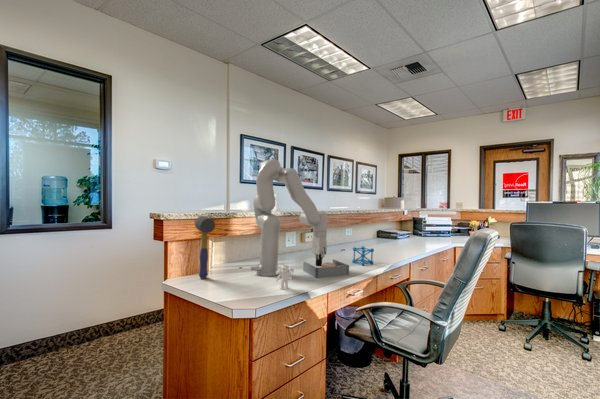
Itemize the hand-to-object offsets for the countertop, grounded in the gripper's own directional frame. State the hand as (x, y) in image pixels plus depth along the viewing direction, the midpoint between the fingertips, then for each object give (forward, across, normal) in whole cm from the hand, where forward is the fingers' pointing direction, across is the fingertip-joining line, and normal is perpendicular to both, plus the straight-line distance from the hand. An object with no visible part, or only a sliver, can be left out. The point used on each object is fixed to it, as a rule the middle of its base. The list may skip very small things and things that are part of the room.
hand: (318, 265), depth 174 cm
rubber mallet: (+2, -2, -63) cm, 63 cm away
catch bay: (+2, +7, 0) cm, 7 cm away
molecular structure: (+2, -4, +34) cm, 34 cm away
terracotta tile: (+2, +5, +4) cm, 7 cm away
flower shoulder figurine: (+2, +26, -32) cm, 41 cm away
